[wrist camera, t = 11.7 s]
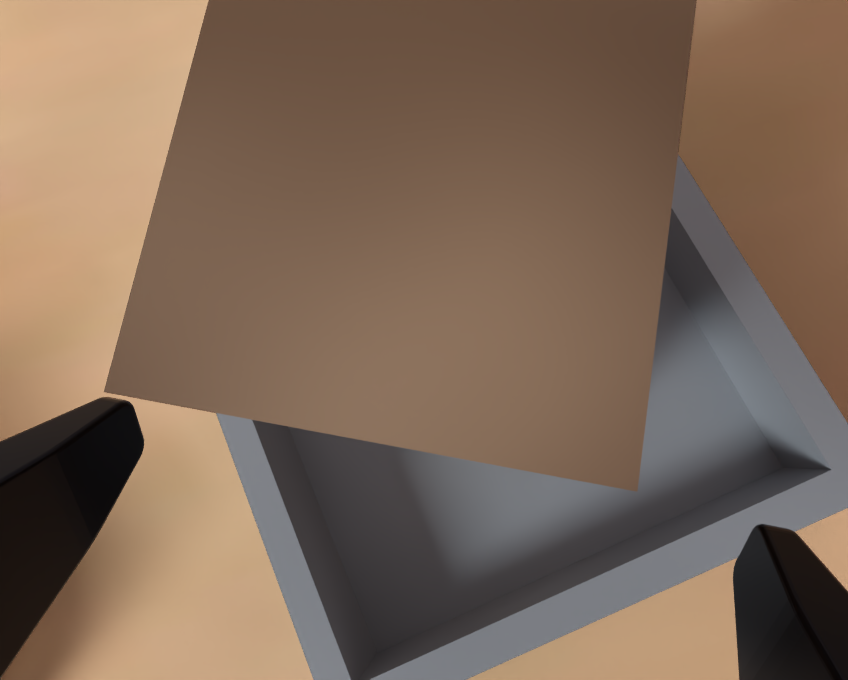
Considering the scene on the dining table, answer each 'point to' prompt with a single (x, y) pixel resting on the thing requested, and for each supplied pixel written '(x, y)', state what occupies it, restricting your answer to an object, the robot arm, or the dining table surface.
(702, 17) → the dining table surface
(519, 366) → the walnut block
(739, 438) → the tray
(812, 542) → the dining table surface
